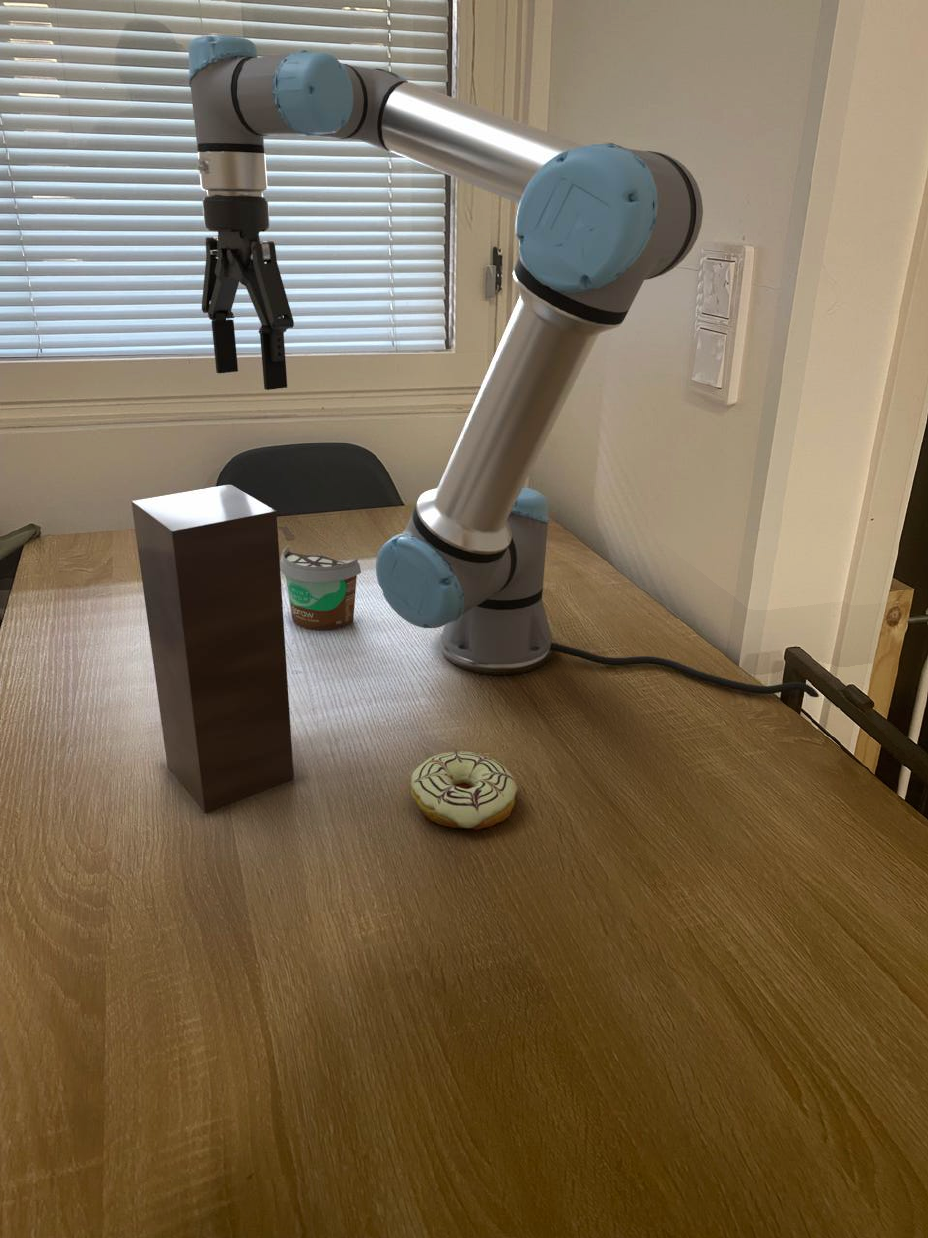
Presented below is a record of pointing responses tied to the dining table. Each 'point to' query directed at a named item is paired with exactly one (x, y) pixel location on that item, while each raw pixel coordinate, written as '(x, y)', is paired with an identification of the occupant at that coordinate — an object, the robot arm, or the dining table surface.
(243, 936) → the dining table surface
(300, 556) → the food container
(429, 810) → the decorated donut
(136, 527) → the stand
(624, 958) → the dining table surface
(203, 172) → the robot arm
